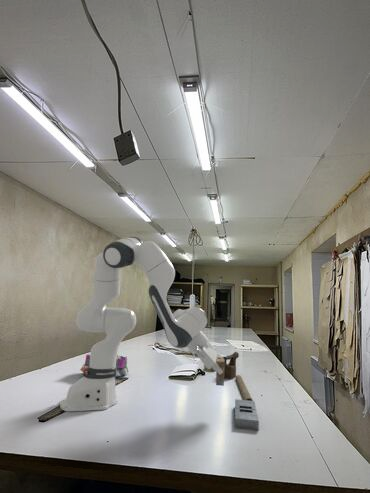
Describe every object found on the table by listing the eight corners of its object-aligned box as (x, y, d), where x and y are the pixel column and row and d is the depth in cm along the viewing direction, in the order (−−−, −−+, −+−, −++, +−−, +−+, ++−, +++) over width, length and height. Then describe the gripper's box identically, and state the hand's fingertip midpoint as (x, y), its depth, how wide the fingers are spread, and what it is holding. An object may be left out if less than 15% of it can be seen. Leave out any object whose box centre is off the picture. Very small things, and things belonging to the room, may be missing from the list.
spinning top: (103, 382, 150) (108, 350, 154) (68, 374, 165) (73, 345, 169) (138, 378, 172) (141, 350, 176) (104, 371, 186) (107, 346, 190)
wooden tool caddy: (242, 375, 184) (242, 352, 186) (230, 379, 171) (230, 355, 174) (230, 373, 188) (231, 351, 191) (218, 377, 176) (218, 353, 179)
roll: (241, 380, 172) (241, 375, 172) (254, 406, 130) (254, 398, 130) (235, 380, 172) (235, 374, 173) (245, 405, 130) (245, 397, 131)
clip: (216, 385, 117) (216, 361, 118) (216, 381, 122) (217, 358, 124) (223, 385, 116) (224, 361, 118) (224, 382, 122) (224, 358, 123)
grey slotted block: (235, 427, 105) (235, 418, 105) (235, 406, 126) (235, 399, 127) (258, 430, 104) (258, 420, 104) (254, 408, 125) (254, 401, 125)
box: (224, 364, 207) (224, 357, 207) (214, 376, 187) (213, 368, 187) (213, 363, 210) (213, 356, 211) (202, 375, 190) (201, 367, 190)
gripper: (201, 342, 113) (227, 371, 110) (206, 335, 133) (227, 360, 130) (189, 353, 113) (214, 383, 110) (195, 345, 133) (217, 370, 130)
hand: (221, 370), depth 120 cm, fingers closed on clip, 6 cm apart
